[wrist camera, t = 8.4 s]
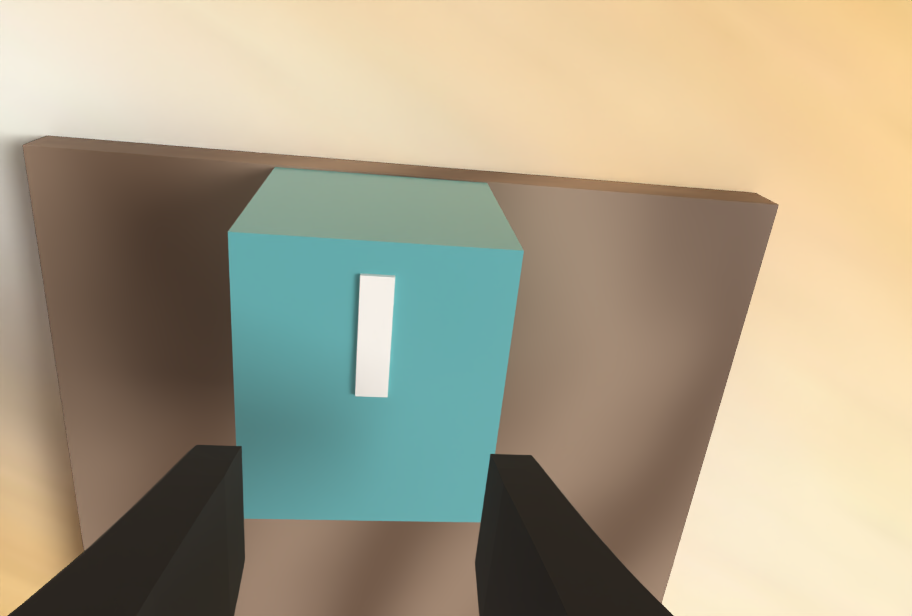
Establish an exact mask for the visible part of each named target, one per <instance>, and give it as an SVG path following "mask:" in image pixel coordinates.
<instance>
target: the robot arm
mask: <svg viewBox="0 0 912 616" xmlns="http://www.w3.org/2000/svg"><path fill="white" fill-rule="evenodd" d="M244 563H245V536H244V504H243V471H242V446H223V445H196V446H194V447H193V448H192V449H191V450H190V451H188V452H187V453H186V454H185V455H184V456H183V457H182V458H181V459H180V460H179V461H178V462H177V463H176V464H175V465H174V466H173V467H172V468H171V469H170V470H169V471H168V472H167V473H166V474H165V475H164V476H163V477H162V478H161V479H160V480H159V481H158V482H157V483H156V484H155V485H154V486H153V487H152V488H151V489H150V490H149V491H148V492H147V493H146V494H145V495H144V496H143V497H142V498H141V499H140V500H139V501H138V502H137V503H136V504H135V505H134V506H133V507H132V508H130V509H129V510H128V511H127V512H126V513H125V514H124V515H123V516H122V517H121V518H120V519H119V520H118V521H117V522H115V523H114V524H113V525H112V526H111V527H110V528H109V529H108V530H107V531H106V532H105V533H104V534H103V535H101V536H100V537H99V538H98V539H97V540H96V541H95V542H94V543H93V544H92V545H91V546H90V547H88V548H87V549H86V550H85V551H84V552H83V553H82V554H81V555H79V556H78V557H77V558H76V559H75V560H74V561H73V562H71V563H70V564H69V565H68V566H67V567H65V568H64V569H63V570H62V571H61V572H59V573H58V574H57V575H56V576H55V577H54V578H52V579H51V580H50V581H49V582H48V583H46V584H45V585H44V586H43V587H42V588H41V589H39V590H38V591H37V592H36V593H35V594H33V595H32V596H31V597H30V598H29V599H28V600H26V601H25V602H24V603H23V604H22V605H20V606H19V607H18V608H17V609H15V610H14V611H13V612H12V613H10V614H9V615H8V616H234V614H235V609H236V604H237V599H238V594H239V589H240V584H241V579H242V574H243V569H244ZM475 571H476V584H477V596H478V607H479V616H673V615H672V614H671V613H670V612H669V611H668V610H667V609H666V608H665V607H664V606H663V605H662V604H661V603H660V602H659V601H658V600H657V599H656V598H655V597H654V596H653V595H652V594H651V593H650V592H649V591H648V590H647V589H646V588H645V587H644V586H643V585H642V584H641V583H640V582H639V581H638V580H637V578H636V577H635V576H634V575H633V574H632V573H631V572H630V571H629V570H628V569H627V568H626V567H625V566H624V564H623V563H622V562H621V561H620V560H619V559H618V558H617V557H616V555H615V554H614V553H613V552H612V551H611V550H610V549H609V547H608V546H607V545H606V544H605V543H604V542H603V541H602V540H601V538H600V537H599V536H598V535H597V534H596V533H595V532H594V530H593V529H592V528H591V527H590V526H589V525H588V523H587V522H586V521H585V520H584V519H583V517H582V516H581V515H580V514H579V513H578V511H577V510H576V509H575V508H574V507H573V505H572V504H571V503H570V502H569V500H568V499H567V498H566V497H565V495H564V494H563V493H562V492H561V491H560V489H559V488H558V487H557V486H556V484H555V483H554V482H553V481H552V479H551V478H550V477H549V476H548V474H547V473H546V472H545V471H544V469H543V468H542V467H541V466H540V464H539V463H538V462H537V461H536V460H535V459H534V457H533V456H532V455H513V454H490V460H489V467H488V474H487V481H486V488H485V495H484V502H483V509H482V516H481V523H480V530H479V537H478V544H477V551H476V558H475Z"/></svg>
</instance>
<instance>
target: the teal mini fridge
mask: <svg viewBox="0 0 912 616" xmlns="http://www.w3.org/2000/svg"><path fill="white" fill-rule="evenodd" d="M228 249H229V275H230V300H231V326H232V352H233V377H234V403H235V429H236V446H242V471H243V504H244V519H294V520H357V521H420V522H481V516H482V509H483V502H484V495H485V488H486V481H487V474H488V467H489V460H490V454H495V450H496V443H497V436H498V429H499V422H500V415H501V408H502V401H503V394H504V387H505V380H506V373H507V366H508V359H509V352H510V345H511V338H512V331H513V324H514V317H515V310H516V303H517V296H518V289H519V282H520V275H521V268H522V261H523V254H524V250H523V248H522V246H521V244H520V243H519V241H518V239H517V237H516V235H515V233H514V231H513V230H512V228H511V226H510V224H509V222H508V220H507V219H506V217H505V215H504V213H503V211H502V209H501V208H500V206H499V204H498V202H497V200H496V198H495V196H494V195H493V193H492V191H491V189H490V187H489V185H488V184H487V183H481V182H468V181H455V180H441V179H428V178H415V177H401V176H388V175H375V174H362V173H348V172H335V171H322V170H308V169H295V168H282V167H275V168H274V169H273V170H272V172H271V173H270V175H269V176H268V177H267V179H266V180H265V181H264V183H263V184H262V186H261V187H260V188H259V190H258V191H257V192H256V194H255V195H254V197H253V198H252V199H251V201H250V202H249V203H248V205H247V206H246V207H245V209H244V210H243V212H242V213H241V214H240V216H239V217H238V218H237V220H236V221H235V223H234V224H233V225H232V227H231V228H230V229H229V231H228Z"/></svg>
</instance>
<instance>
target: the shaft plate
mask: <svg viewBox="0 0 912 616" xmlns="http://www.w3.org/2000/svg"><path fill="white" fill-rule="evenodd" d="M23 151H24V158H25V164H26V171H27V178H28V184H29V191H30V197H31V204H32V211H33V217H34V224H35V230H36V237H37V244H38V250H39V257H40V263H41V270H42V277H43V283H44V290H45V296H46V303H47V310H48V316H49V323H50V329H51V336H52V343H53V349H54V356H55V362H56V369H57V376H58V382H59V389H60V395H61V402H62V409H63V415H64V422H65V428H66V435H67V442H68V448H69V455H70V461H71V468H72V475H73V481H74V488H75V494H76V501H77V508H78V514H79V521H80V527H81V534H82V541H83V547H84V551H85V550H86V549H87V548H88V547H90V546H91V545H92V544H93V543H94V542H95V541H96V540H97V539H98V538H99V537H100V536H101V535H103V534H104V533H105V532H106V531H107V530H108V529H109V528H110V527H111V526H112V525H113V524H114V523H115V522H117V521H118V520H119V519H120V518H121V517H122V516H123V515H124V514H125V513H126V512H127V511H128V510H129V509H130V508H132V507H133V506H134V505H135V504H136V503H137V502H138V501H139V500H140V499H141V498H142V497H143V496H144V495H145V494H146V493H147V492H148V491H149V490H150V489H151V488H152V487H153V486H154V485H155V484H156V483H157V482H158V481H159V480H160V479H161V478H162V477H163V476H164V475H165V474H166V473H167V472H168V471H169V470H170V469H171V468H172V467H173V466H174V465H175V464H176V463H177V462H178V461H179V460H180V459H181V458H182V457H183V456H184V455H185V454H186V453H187V452H188V451H190V450H191V449H192V448H193V447H194V446H196V445H223V446H236V429H235V403H234V377H233V352H232V326H231V300H230V275H229V249H228V231H229V229H230V228H231V227H232V225H233V224H234V223H235V221H236V220H237V218H238V217H239V216H240V214H241V213H242V212H243V210H244V209H245V207H246V206H247V205H248V203H249V202H250V201H251V199H252V198H253V197H254V195H255V194H256V192H257V191H258V190H259V188H260V187H261V186H262V184H263V183H264V181H265V180H266V179H267V177H268V176H269V175H270V173H271V172H272V170H273V169H274V168H275V167H282V168H295V169H308V170H322V171H335V172H348V173H362V174H375V175H388V176H401V177H415V178H428V179H441V180H455V181H468V182H481V183H487V184H488V185H489V187H490V189H491V191H492V193H493V195H494V196H495V198H496V200H497V202H498V204H499V206H500V208H501V209H502V211H503V213H504V215H505V217H506V219H507V220H508V222H509V224H510V226H511V228H512V230H513V231H514V233H515V235H516V237H517V239H518V241H519V243H520V244H521V246H522V248H523V250H524V254H523V261H522V268H521V275H520V282H519V289H518V296H517V303H516V310H515V317H514V324H513V331H512V338H511V345H510V352H509V359H508V366H507V373H506V380H505V387H504V394H503V401H502V408H501V415H500V422H499V429H498V436H497V443H496V450H495V454H513V455H532V456H533V457H534V459H535V460H536V461H537V462H538V463H539V464H540V466H541V467H542V468H543V469H544V471H545V472H546V473H547V474H548V476H549V477H550V478H551V479H552V481H553V482H554V483H555V484H556V486H557V487H558V488H559V489H560V491H561V492H562V493H563V494H564V495H565V497H566V498H567V499H568V500H569V502H570V503H571V504H572V505H573V507H574V508H575V509H576V510H577V511H578V513H579V514H580V515H581V516H582V517H583V519H584V520H585V521H586V522H587V523H588V525H589V526H590V527H591V528H592V529H593V530H594V532H595V533H596V534H597V535H598V536H599V537H600V538H601V540H602V541H603V542H604V543H605V544H606V545H607V546H608V547H609V549H610V550H611V551H612V552H613V553H614V554H615V555H616V557H617V558H618V559H619V560H620V561H621V562H622V563H623V564H624V566H625V567H626V568H627V569H628V570H629V571H630V572H631V573H632V574H633V575H634V576H635V577H636V578H637V580H638V581H639V582H640V583H641V584H642V585H643V586H644V587H645V588H646V589H647V590H648V591H649V592H650V593H651V594H652V595H653V596H654V597H655V598H656V599H657V600H658V601H659V602H660V603H662V600H663V596H664V593H665V590H666V586H667V583H668V579H669V576H670V573H671V569H672V566H673V562H674V559H675V556H676V552H677V549H678V545H679V542H680V539H681V535H682V532H683V528H684V525H685V522H686V518H687V515H688V511H689V508H690V505H691V501H692V498H693V494H694V491H695V488H696V484H697V481H698V477H699V474H700V471H701V467H702V464H703V460H704V457H705V454H706V450H707V447H708V443H709V440H710V437H711V433H712V430H713V426H714V423H715V420H716V416H717V413H718V409H719V406H720V403H721V399H722V396H723V392H724V389H725V386H726V382H727V379H728V375H729V372H730V369H731V365H732V362H733V358H734V355H735V352H736V348H737V345H738V341H739V338H740V335H741V331H742V328H743V324H744V321H745V318H746V314H747V311H748V307H749V304H750V301H751V297H752V294H753V290H754V287H755V284H756V280H757V277H758V273H759V270H760V267H761V263H762V260H763V256H764V253H765V250H766V246H767V243H768V239H769V236H770V233H771V229H772V226H773V222H774V219H775V216H776V212H777V209H778V204H776V203H774V202H772V201H770V200H768V199H766V198H764V197H762V196H760V195H758V194H757V193H749V192H737V191H724V190H712V189H699V188H687V187H675V186H662V185H650V184H638V183H625V182H613V181H601V180H588V179H576V178H564V177H551V176H539V175H527V174H514V173H502V172H490V171H477V170H465V169H453V168H440V167H428V166H416V165H403V164H391V163H379V162H366V161H354V160H341V159H329V158H317V157H304V156H292V155H280V154H267V153H255V152H243V151H230V150H218V149H206V148H193V147H181V146H169V145H156V144H144V143H132V142H119V141H107V140H95V139H82V138H70V137H58V136H45V137H43V138H40V139H37V140H35V141H32V142H29V143H26V144H24V145H23ZM480 523H481V522H420V521H357V520H294V519H244V536H245V563H244V569H243V574H242V579H241V584H240V589H239V594H238V599H237V604H236V609H235V614H234V616H479V607H478V596H477V584H476V571H475V558H476V551H477V544H478V537H479V530H480Z"/></svg>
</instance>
